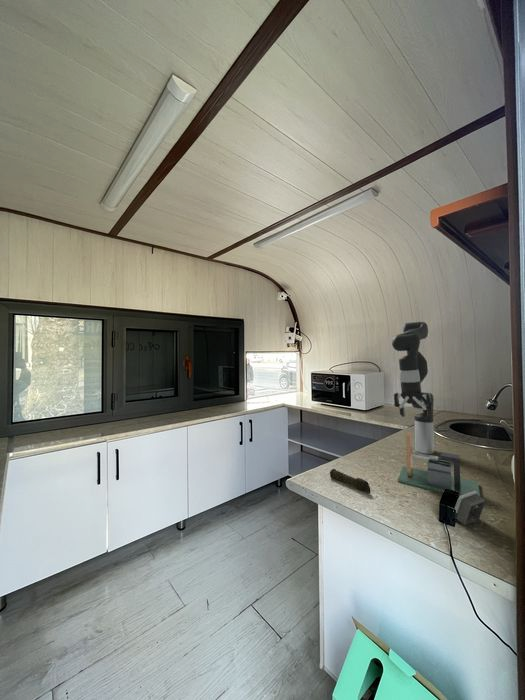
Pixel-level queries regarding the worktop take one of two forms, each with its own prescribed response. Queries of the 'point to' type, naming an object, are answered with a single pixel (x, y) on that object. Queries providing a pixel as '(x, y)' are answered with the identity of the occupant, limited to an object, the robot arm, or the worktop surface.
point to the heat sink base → (440, 476)
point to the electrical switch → (469, 507)
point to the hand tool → (351, 481)
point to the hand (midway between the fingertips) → (414, 417)
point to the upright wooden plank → (414, 454)
